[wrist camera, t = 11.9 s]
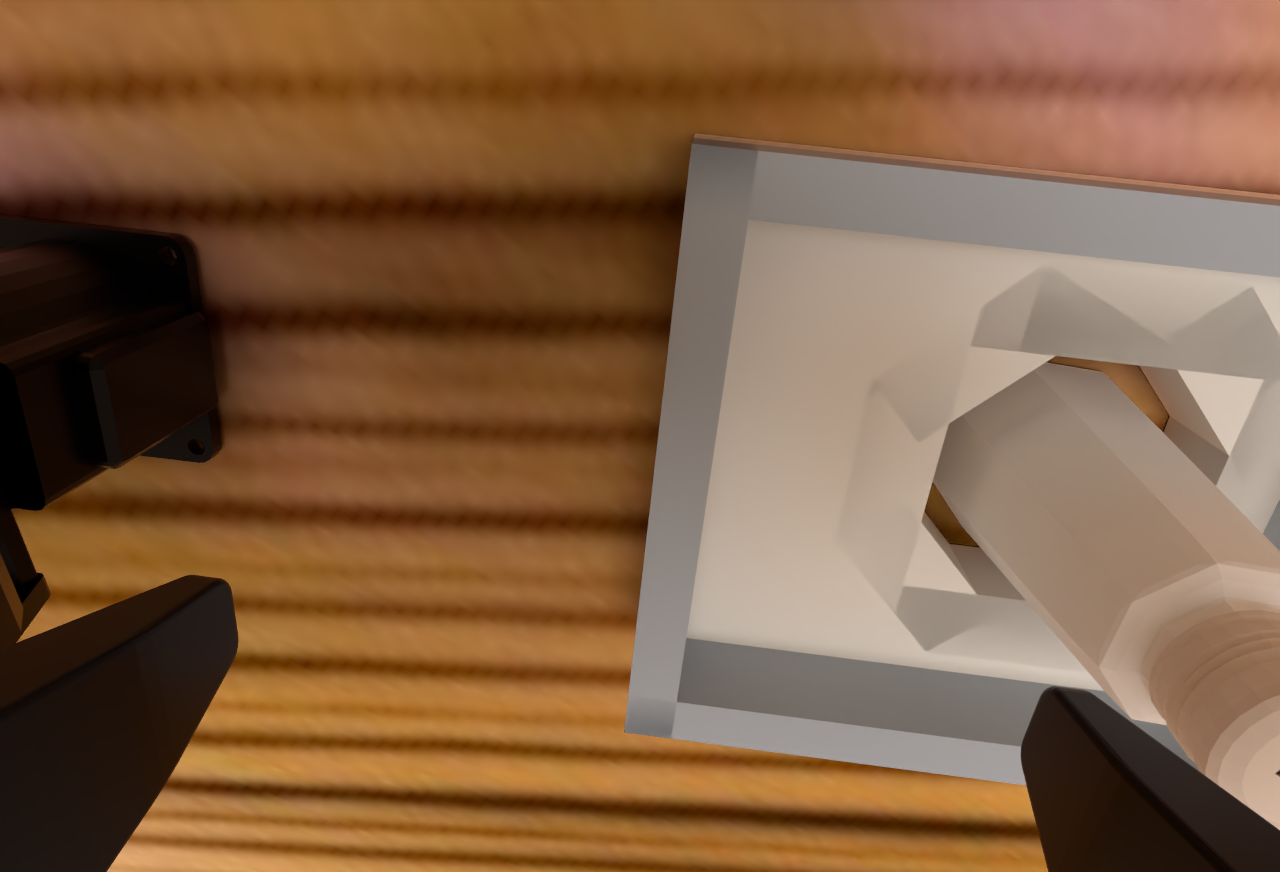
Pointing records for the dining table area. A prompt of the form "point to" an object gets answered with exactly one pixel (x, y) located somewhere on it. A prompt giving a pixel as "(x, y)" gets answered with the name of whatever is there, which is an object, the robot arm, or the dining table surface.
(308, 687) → the dining table surface
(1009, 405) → the pepper shaker
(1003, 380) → the bore box
